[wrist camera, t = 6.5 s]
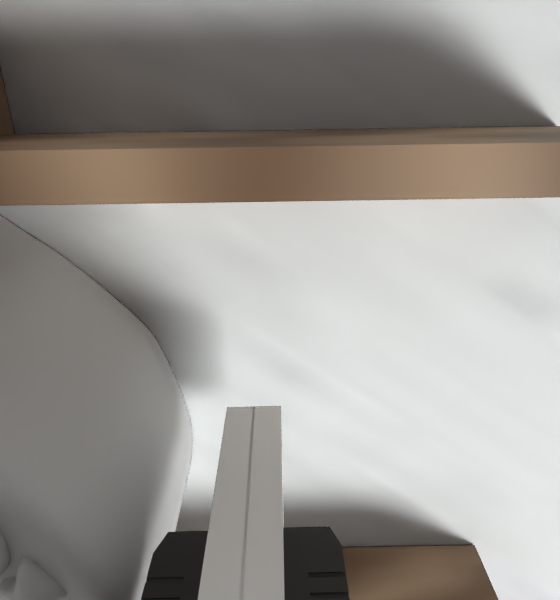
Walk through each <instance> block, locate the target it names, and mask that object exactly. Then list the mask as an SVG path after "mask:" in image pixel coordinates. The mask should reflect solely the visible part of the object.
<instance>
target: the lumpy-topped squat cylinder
mask: <svg viewBox="0 0 560 600" xmlns="http://www.w3.org/2000/svg"><path fill="white" fill-rule="evenodd" d="M191 457H192V426H191V420H190V416H189V412H188V409H187V406H186V403H185V400H184V397H183V395H182V392H181V390H180V387H179V385H178V382H177V380H176V378H175V376H174V373H173V371H172V369H171V367H170V365H169V363H168V361H167V359H166V357H165V355H164V353H163V351H162V349H161V347H160V345H159V343H158V342H157V340H156V338H155V337H154V336H153V334H152V333H151V332H150V331H149V329H148V328H147V327H146V326H145V325H144V324H143V323H142V322H141V321H140V320H139V319H138V318H137V317H136V316H135V315H134V314H133V313H131V312H130V311H129V310H128V309H127V308H126V307H125V306H124V305H123V304H121V303H120V302H119V301H118V300H117V299H116V298H115V297H113V296H112V295H111V294H110V293H109V292H107V291H106V290H105V289H104V288H103V287H101V286H100V285H99V284H98V283H96V282H95V281H94V280H93V279H91V278H90V277H89V276H88V275H86V274H85V273H84V272H83V271H81V270H80V269H79V268H77V267H76V266H75V265H73V264H72V263H71V262H69V261H68V260H67V259H65V258H64V257H63V256H61V255H60V254H59V253H57V252H56V251H54V250H53V249H51V248H50V247H48V246H47V245H45V244H44V243H42V242H41V241H39V240H37V239H36V238H34V237H33V236H31V235H29V234H28V233H26V232H25V231H23V230H22V229H20V228H19V227H17V226H16V225H14V224H13V223H11V222H10V221H8V220H7V219H5V218H4V217H2V216H1V215H0V600H141V597H142V593H143V589H144V585H145V583H146V580H147V574H148V570H149V566H150V563H151V559H152V555H153V552H154V551H155V550H156V548H157V547H158V545H159V544H160V543H161V541H162V540H163V539H164V537H165V536H166V534H167V533H168V532H175V531H176V527H177V522H178V518H179V513H180V509H181V505H182V500H183V496H184V491H185V487H186V483H187V478H188V474H189V469H190V465H191Z"/></svg>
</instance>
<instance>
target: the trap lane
mask: <svg viewBox="0 0 560 600" xmlns="http://www.w3.org/2000/svg"><path fill="white" fill-rule="evenodd" d="M542 197H560V126H530V127H461V128H393V129H324V130H256V131H187V132H119V133H51V134H14V129H13V124H12V120H11V115H10V111H9V106H8V101H7V97H6V92H5V87H4V83H3V78H2V74H1V69H0V206H9V205H75V204H142V203H209V202H275V201H342V200H408V199H475V198H542ZM342 550H343V557H344V563H345V570H346V577H347V584H348V591H349V598H350V600H498V598H497V596H496V593H495V591H494V589H493V586H492V584H491V582H490V580H489V577H488V575H487V573H486V570H485V568H484V566H483V564H482V561H481V559H480V557H479V554H478V552H477V550H476V548H475V545H457V546H398V547H342Z"/></svg>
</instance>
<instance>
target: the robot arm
mask: <svg viewBox="0 0 560 600" xmlns="http://www.w3.org/2000/svg"><path fill="white" fill-rule="evenodd" d="M141 600H350V598H349V591H348V584H347V577H346V570H345V563H344V557H343V550H342V546H341V545H340V543H339V541H338V540H337V538H336V536H335V535H334V533H333V532H332V530H331V528H330V527H296V528H284V514H283V467H282V429H281V406H259V407H227V411H226V418H225V424H224V431H223V437H222V444H221V450H220V457H219V463H218V470H217V476H216V483H215V489H214V496H213V502H212V509H211V515H210V522H209V528H208V531H186V532H168V533H167V534H166V536H165V537H164V539H163V540H162V541H161V543H160V544H159V545H158V547H157V548H156V550H155V551H154V552H153V555H152V559H151V563H150V566H149V570H148V574H147V580H146V583H145V585H144V589H143V593H142V597H141Z"/></svg>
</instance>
